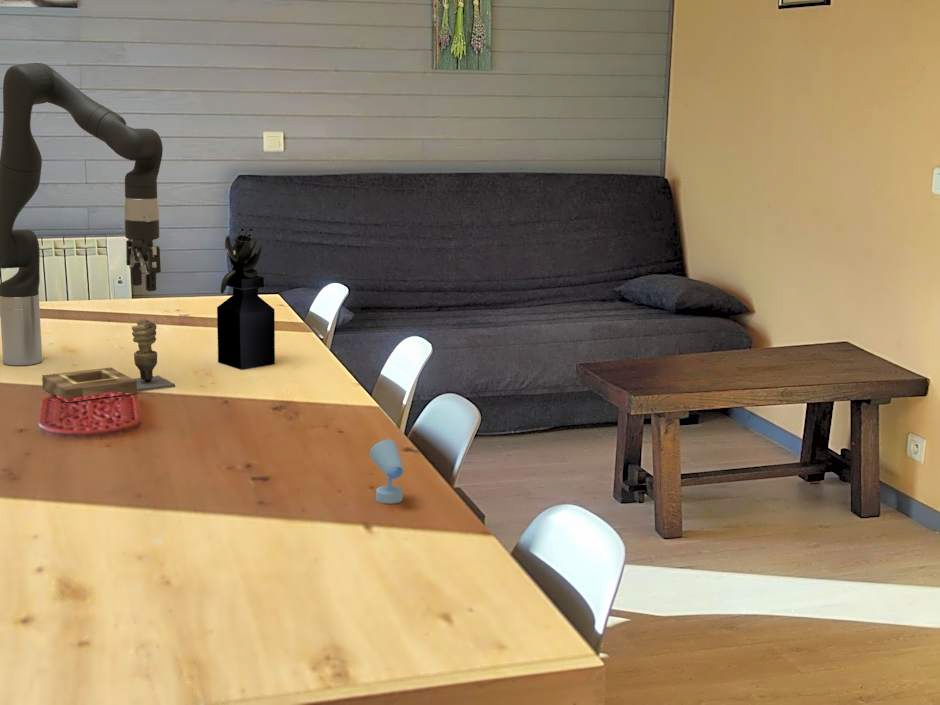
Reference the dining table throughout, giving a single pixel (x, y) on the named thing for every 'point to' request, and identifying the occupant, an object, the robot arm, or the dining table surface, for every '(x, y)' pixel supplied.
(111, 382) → the socket block
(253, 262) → the vase
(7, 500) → the dining table surface
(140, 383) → the mat
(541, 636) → the dining table surface
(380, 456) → the spotlight
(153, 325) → the tan ridged rounded piece
